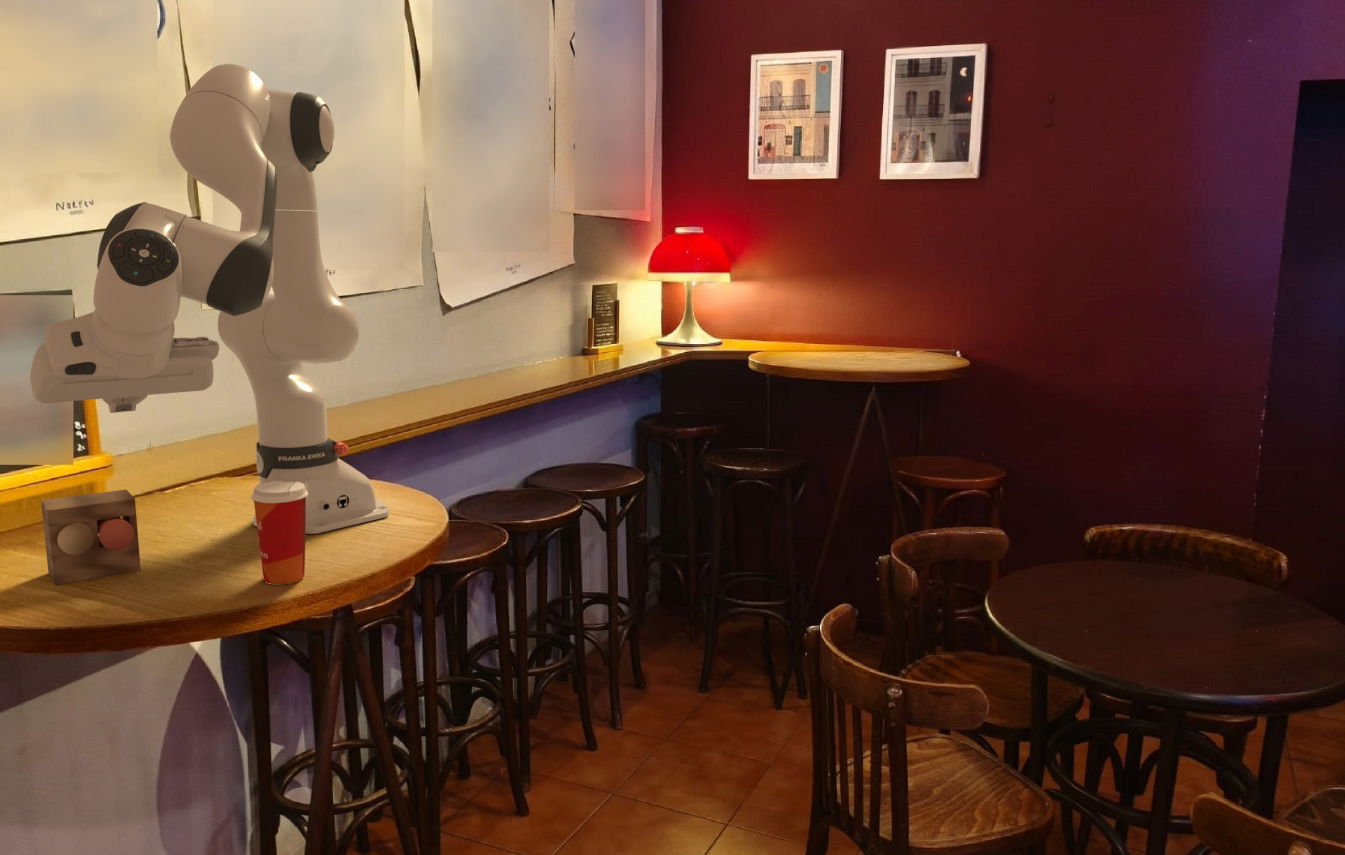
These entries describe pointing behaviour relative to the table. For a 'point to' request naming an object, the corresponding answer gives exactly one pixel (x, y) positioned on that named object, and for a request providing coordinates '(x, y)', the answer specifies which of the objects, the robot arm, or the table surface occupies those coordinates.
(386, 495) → the table surface
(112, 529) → the red plug
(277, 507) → the paper cup
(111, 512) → the socket block
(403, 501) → the table surface
